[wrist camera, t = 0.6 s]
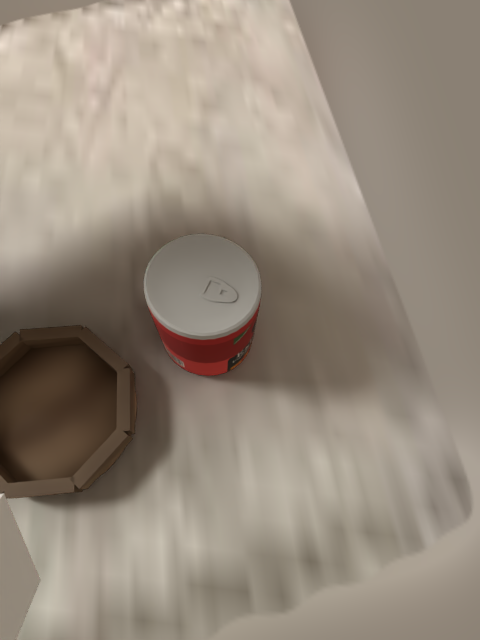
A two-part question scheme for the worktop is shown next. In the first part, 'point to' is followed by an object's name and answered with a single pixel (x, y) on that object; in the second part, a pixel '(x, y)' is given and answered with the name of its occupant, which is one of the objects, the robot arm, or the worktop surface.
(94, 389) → the walnut tray
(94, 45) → the worktop surface
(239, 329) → the canned food
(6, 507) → the robot arm
